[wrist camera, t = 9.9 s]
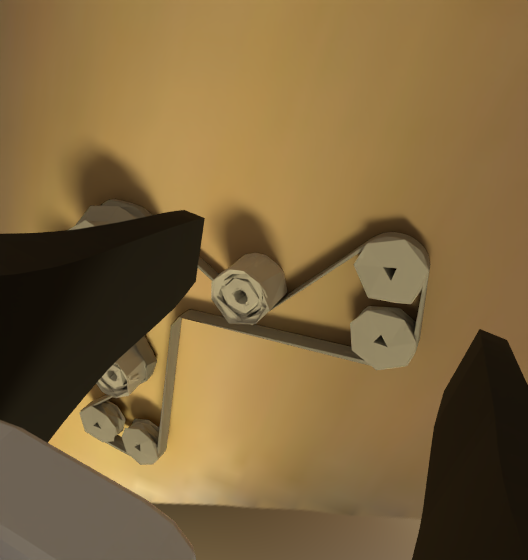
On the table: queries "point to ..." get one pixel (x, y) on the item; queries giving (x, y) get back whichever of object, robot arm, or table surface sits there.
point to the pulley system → (248, 311)
